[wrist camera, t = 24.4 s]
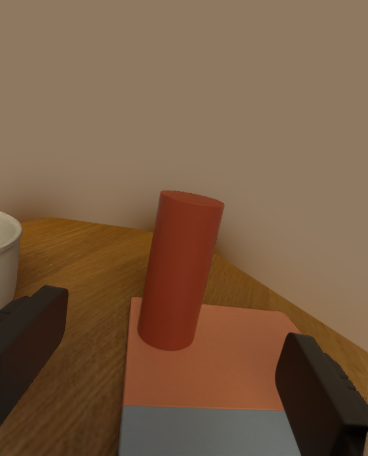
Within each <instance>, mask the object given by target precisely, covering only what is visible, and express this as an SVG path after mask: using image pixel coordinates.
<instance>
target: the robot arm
mask: <svg viewBox="0 0 368 456" xmlns="http://www.w3.org/2000/svg"><path fill="white" fill-rule="evenodd" d="M67 304H68V290H67V289H65V288H60V287H54V286H49V285H44V286H43V287H42V288H41V289H39V290H38V291H37V292H36V293H35V294H33V295H32V296H31V297H29V296H24V297H22V298H19V299H17V300H14V301H12V302H10V303H8V304H7V305H6V306H5V307H3V308H2V309H1V310H0V426H1V424H2V423H3V422H4V420H5V419H6V418H7V416H8V415H9V413H10V412H11V411H12V409H13V408H14V407H15V405H16V404H17V402H18V401H19V400H20V398H21V397H22V395H23V394H24V393H25V391H26V390H27V389H28V387H29V386H30V384H31V383H32V382H33V380H34V379H35V378H36V376H37V375H38V373H39V372H40V371H41V369H42V368H43V366H44V365H45V364H46V362H47V361H48V360H49V358H50V357H51V355H52V354H53V353H54V351H55V350H56V348H57V347H58V346H59V344H60V342H61V340H62V337H63V334H64V331H65V324H66V314H67ZM275 384H276V388H277V391H278V394H279V397H280V399H281V402H282V405H283V408H284V410H285V413H286V416H287V419H288V421H289V424H290V427H291V430H292V432H293V435H294V438H295V441H296V443H297V446H298V449H299V452H300V454H301V456H368V405H367V403H366V402H365V400H364V399H363V398H362V396H361V395H360V393H359V392H358V391H356V388H355V386H354V385H353V384H352V382H351V381H350V380H348V376H347V375H346V374H345V372H344V371H343V369H342V368H341V367H340V365H339V364H338V363H336V362H335V361H334V360H333V359H332V358H331V357H330V356H328V355H327V354H326V353H323V351H322V350H321V348H320V347H319V345H318V344H317V342H316V341H315V339H314V338H313V337H312V336H309V335H303V334H298V333H293V332H289V333H288V334H287V336H286V338H285V341H284V344H283V347H282V351H281V354H280V357H279V360H278V363H277V366H276V370H275Z"/></svg>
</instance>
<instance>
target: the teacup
mask: <svg viewBox="0 0 368 456" xmlns="http://www.w3.org/2000/svg"><path fill="white" fill-rule="evenodd" d="M21 236H22V226H21V224H20V223H19V222H18V221H17V220H16V219H15V218H13V217H11V216H9V215H7V214H5V213H3V212H1V211H0V310H1V309H2V308H3V307H5V306H6V305H7V304H8V303H10V302H12V300H13V297H14V294H15V288H16V282H17V273H18V260H19V239H20V238H21Z"/></svg>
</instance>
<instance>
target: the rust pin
mask: <svg viewBox="0 0 368 456" xmlns="http://www.w3.org/2000/svg"><path fill="white" fill-rule="evenodd" d="M223 209H224V203H222V202H221V201H218V200H215V199H212V198H209V197H205V196H201V195H196V194H192V193H186V192H180V191H162V192H161V193H160V198H159V205H158V211H157V216H156V222H155V228H154V233H153V239H152V245H151V251H150V257H149V262H148V268H147V274H146V280H145V286H144V291H143V297H142V303H141V309H140V315H139V321H138V326H137V331H138V334H139V336H140V338H141V339H142V340H143V341H144V342H145V343H147V344H148V345H150V346H152V347H154V348H157V349H160V350H166V351H176V350H181V349H184V348H186V347H188V346H189V345H190V344H191V343H192V342H193V340H194V336H195V332H196V327H197V323H198V318H199V314H200V310H201V305H202V301H203V297H204V292H205V288H206V284H207V279H208V275H209V270H210V266H211V262H212V257H213V253H214V249H215V244H216V240H217V235H218V231H219V227H220V222H221V218H222V214H223Z"/></svg>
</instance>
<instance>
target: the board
mask: <svg viewBox="0 0 368 456" xmlns="http://www.w3.org/2000/svg"><path fill="white" fill-rule="evenodd" d="M141 303H142V298H138V297H131V303H130V312H129V325H128V337H127V349H126V361H125V374H124V386H123V398H122V411H121V423H120V435H119V447H118V456H301V454H300V452H299V449H298V446H297V443H296V441H295V438H294V435H293V432H292V430H291V427H290V424H289V421H288V419H287V416H286V413H285V410H284V408H283V405H282V402H281V399H280V397H279V394H278V391H277V388H276V384H275V370H276V366H277V363H278V360H279V357H280V354H281V351H282V347H283V344H284V341H285V338H286V336H287V334H288V333H289V332H293V333H298V334H302V333H301V332H300V331H299V330H298V329H297V327H296V326H295V325H294V324H293V323H292V322H291V320H290V319H289V318H288V317H287V316H286V315H285V313H284V312H275V311H266V310H256V309H246V308H236V307H226V306H216V305H207V304H202V305H201V310H200V314H199V318H198V323H197V327H196V332H195V336H194V340H193V342H192V343H191V344H190V345H189V346H188V347H186V348H184V349H181V350H176V351H166V350H160V349H157V348H154V347H152V346H150V345H148V344H147V343H145V342H144V341H143V340H142V339H141V338H140V336H139V334H138V331H137V326H138V321H139V315H140V309H141Z"/></svg>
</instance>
